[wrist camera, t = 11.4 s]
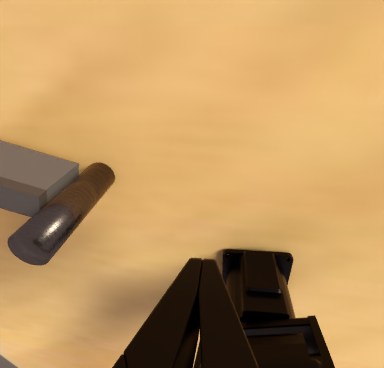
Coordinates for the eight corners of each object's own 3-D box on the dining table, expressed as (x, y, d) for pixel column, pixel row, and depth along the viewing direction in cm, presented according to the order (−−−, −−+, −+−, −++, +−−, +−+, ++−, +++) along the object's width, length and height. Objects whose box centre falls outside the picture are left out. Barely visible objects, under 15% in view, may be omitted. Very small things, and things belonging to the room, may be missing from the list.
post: (117, 187, 22) (55, 266, 14) (92, 186, 22) (18, 263, 14) (111, 162, 20) (41, 234, 13) (85, 162, 21) (0, 232, 13)
